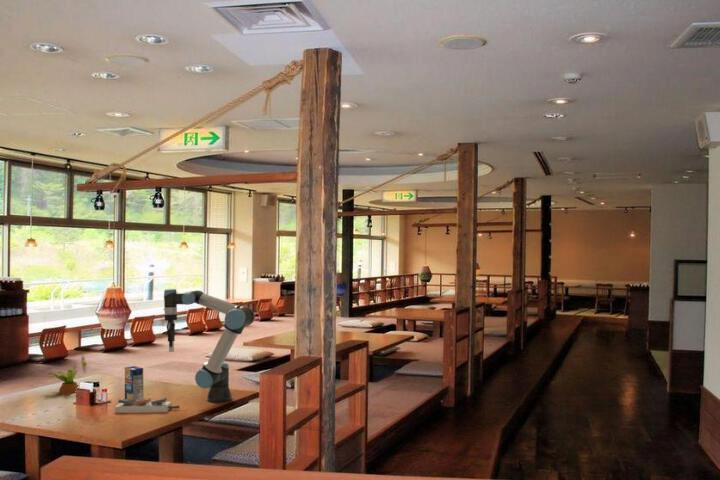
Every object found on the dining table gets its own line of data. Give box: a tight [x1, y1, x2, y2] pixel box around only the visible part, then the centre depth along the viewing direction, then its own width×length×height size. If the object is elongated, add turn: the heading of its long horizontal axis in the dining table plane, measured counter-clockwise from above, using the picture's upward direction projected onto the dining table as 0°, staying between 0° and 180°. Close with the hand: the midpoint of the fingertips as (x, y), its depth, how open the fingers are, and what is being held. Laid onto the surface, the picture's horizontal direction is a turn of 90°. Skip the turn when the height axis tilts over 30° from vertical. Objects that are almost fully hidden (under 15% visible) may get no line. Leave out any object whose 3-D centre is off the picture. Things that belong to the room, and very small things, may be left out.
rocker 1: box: [118, 397, 135, 405], centre depth 397 cm, size 8×4×2 cm, turn 91°
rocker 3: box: [150, 397, 167, 405], centre depth 397 cm, size 8×4×2 cm, turn 91°
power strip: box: [114, 401, 180, 414], centre depth 399 cm, size 36×11×4 cm, turn 91°
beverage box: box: [124, 365, 144, 401], centre depth 416 cm, size 7×11×22 cm, turn 45°
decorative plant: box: [48, 355, 88, 395], centre depth 452 cm, size 27×24×25 cm
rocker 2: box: [135, 397, 152, 405], centre depth 397 cm, size 8×4×2 cm, turn 91°
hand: (171, 351), depth 420 cm, fingers closed
